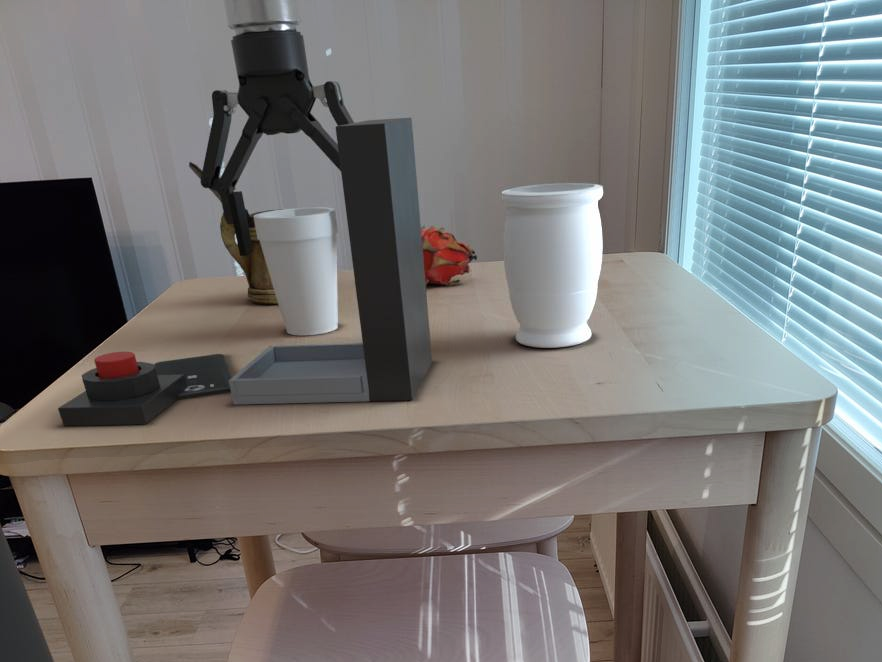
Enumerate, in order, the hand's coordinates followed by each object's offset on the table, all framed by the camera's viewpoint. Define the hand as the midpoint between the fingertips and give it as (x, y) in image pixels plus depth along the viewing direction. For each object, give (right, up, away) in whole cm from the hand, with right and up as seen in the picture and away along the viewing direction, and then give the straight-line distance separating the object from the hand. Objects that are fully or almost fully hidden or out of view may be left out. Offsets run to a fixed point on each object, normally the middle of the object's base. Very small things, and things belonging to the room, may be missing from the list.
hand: (302, 251), depth 102 cm
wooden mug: (-10, +3, +22) cm, 24 cm away
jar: (+29, -13, -6) cm, 32 cm away
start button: (-13, -21, -21) cm, 32 cm away
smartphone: (-9, -19, -11) cm, 24 cm away
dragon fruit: (+15, +6, +25) cm, 30 cm away
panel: (-13, -24, -19) cm, 33 cm away
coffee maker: (+7, -20, -16) cm, 27 cm away
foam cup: (0, -8, +5) cm, 9 cm away
